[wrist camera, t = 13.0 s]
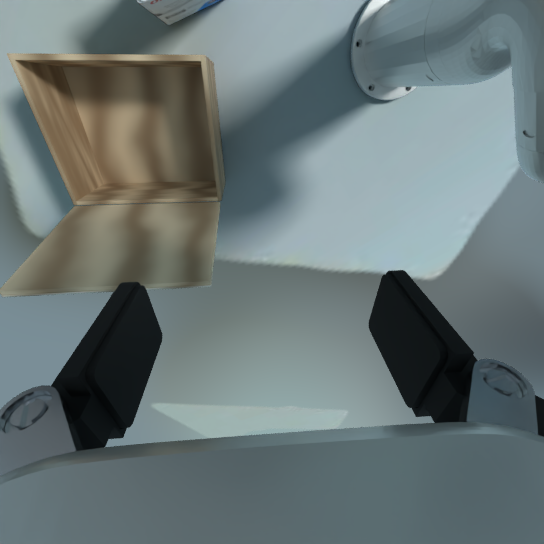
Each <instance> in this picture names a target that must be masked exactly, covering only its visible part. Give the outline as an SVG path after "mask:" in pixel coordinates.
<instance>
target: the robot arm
mask: <svg viewBox="0 0 544 544" xmlns="http://www.w3.org/2000/svg"><path fill="white" fill-rule="evenodd" d="M357 42H358V43H359V45H358V47H356V43H357ZM351 66H352V71H353V74H354V77H355V80H356V82H357V83H358V85H359V87H360V88H361V89H362V90H363V91H364V92H365V93H366V94H367V95H369V96H370V97H373V98H375V99H379V100H393V99H398V98H401V97H403V96H405V95H407V94H409V93H410V92H412V91H413V90H415V89H416V88H417V87H418V86H443V85H464V84H473V83H478V82H482V81H485V80H488V79H490V78H493V77H495V76H497V75H498V74H500V73H502V72H504V71H505V70H507V69H509V68H510V67H512V85H513V87H514V109H515V135H516V149H517V156H518V161H519V164H520V166H521V168H522V170H523V171H524V172H525V174H526V175H527V176H529V177H530V178H532V179H534V180H536V181H538V182H541V183H544V0H370V1H369V2H368V3H367V5H366V6H365V8H364V10H363V11H362V13H361V15H360V17H359V19H358V21H357V24H356V27H355V30H354V33H353V37H352V43H351ZM369 86H371V88H370V90H369ZM406 87H407V88H406ZM405 88H406V90H405ZM369 329H370V332H371V333H372V336H373V338H374V340H375V342H376V344H377V346H378V348H379V350H380V352H381V354H382V356H383V358H384V360H385V362H386V365H387V367H388V369H389V371H390V373H391V375H392V377H393V379H394V381H395V383H396V385H397V387H398V389H399V391H400V393H401V395H402V397H403V399H404V401H405V403H406V405H407V406H408V407H410V408H412V410H413V412H414V414H415V415H416V417H421V416H431V417H432V419H433V421H434V422H435V423H426V424H405V425H390V426H375V427H360V428H345V429H330V430H316V431H303V432H289V433H275V434H262V435H249V436H234V437H221V438H208V439H195V440H183V441H170V442H157V443H146V444H136V445H126V446H114V447H105V446H106V443H107V441H108V439H114V438H123V437H124V434H125V431H126V428H128V427H130V426H131V425H132V424H133V421H134V418H135V415H136V413H137V410H138V407H139V404H140V401H141V399H142V396H143V393H144V390H145V387H146V384H147V381H148V379H149V376H150V373H151V370H152V368H153V365H154V361H155V359H156V356H157V353H158V351H159V348H160V345H161V342H162V332H161V329H160V327H159V324H158V321H157V318H156V316H155V313H154V310H153V307H152V304H151V302H150V299H149V296H148V293H147V291H146V288H145V286H143V285H140V283H139V282H122V283H120V284H119V286H118V287H117V289H116V290H115V292H114V293H113V294H112V296H111V297H110V299H109V300H108V302H107V303H106V305H105V307H104V308H103V309H102V311H101V312H100V314H99V316H98V317H97V318H96V320H95V321H94V323H93V324H92V326H91V327H90V329H89V330H88V332H87V333H86V335H85V336H84V338H83V339H82V340H81V342H80V344H79V345H78V346H77V348H76V349H75V351H74V352H73V354H72V355H71V357H70V358H69V360H68V361H67V363H66V364H65V366H64V367H63V369H62V370H61V372H60V373H59V375H58V376H57V378H56V379H55V381H54V382H53V384H52V385H51V386H38V387H33V388H31V389H28V390H26V391H24V392H22V393H20V394H19V395H17V396H16V397H14V398H13V399H11V400H10V401H9V402H8V403H6V405H4V406H3V407H2V408H1V410H0V544H544V399H542V398H539V397H538V396H536V395H535V393H534V389H533V386H532V385H531V383H530V382H529V381H528V379H527V378H526V377H525V376H524V375H523V374H522V373H520V372H519V371H517V370H516V369H515V368H513V367H512V366H509V365H507V364H506V363H504V362H501V361H498V360H495V359H487V358H486V359H480V360H477V359H476V358H475V357H474V355H473V354H474V352H473V351H472V350H471V349H470V348H469V346H468V345H467V344H466V343H465V342H464V341H463V340H462V338H461V337H460V336H459V335H458V333H457V332H456V331H455V330H454V329H453V327H452V326H451V325H450V324H449V323H448V321H447V320H446V319H445V318H444V317H443V316H442V314H441V313H440V312H439V311H438V310H437V308H436V307H435V306H434V305H433V304H432V302H431V301H430V300H429V299H428V298H427V296H426V295H425V294H424V293H423V292H422V291H421V290H420V288H419V287H418V286H417V285H416V283H414V281H413V280H412V279H411V277H410V276H409V275H408V274H407V273H406V272H405V271H403V270H398V271H388V272H387V273H386V275H383V276H382V279H381V282H380V286H379V289H378V292H377V296H376V299H375V303H374V306H373V309H372V313H371V316H370V320H369Z"/></svg>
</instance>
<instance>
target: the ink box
mask: <svg viewBox="0 0 544 544" xmlns="http://www.w3.org/2000/svg"><path fill="white" fill-rule="evenodd" d="M218 1H220V0H137V2H138V3H139V4H140V5H142V6H143V7H144V8H146V9H147V10H148V11H150V12H151V13H152V14H154V15H155V16H157V17H158V18H159V19H160V20H162V21H163V22H164V23H166V24H167V25H171V24H173V23H175V22H177V21H179V20H181V19H183V18H185V17H187V16H189V15H191V14H193V13H196V12H198V11H200V10H202V9H204V8H206V7H208V6H210V5H212V4H214V3H216V2H218Z"/></svg>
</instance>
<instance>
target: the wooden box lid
mask: <svg viewBox="0 0 544 544" xmlns="http://www.w3.org/2000/svg"><path fill="white" fill-rule="evenodd" d="M219 213H220V202H191V203H157V204H124V205H90V206H74V207H73V208H72V209H71V210H70V211H69V213H68V214H67V215H66V216H65V217H64V218H63V219H62V220H61V221H60V223H59V224H58V225H57V226H56V227H55V228H54V229H53V230H52V232H51V233H50V234H49V235H48V236H47V237H46V238H45V239H44V240H43V242H42V243H41V244H40V245H39V246H38V247H37V248H36V249H35V251H34V252H33V253H32V254H31V255H30V256H29V257H28V259H27V260H25V262H24V263H23V264H22V265H21V266H20V267H19V268H18V269H17V270H16V272H15V273H14V274H13V275H12V276H11V277H10V278H9V279H8V281H7V282H6V283H5V284H4V285H3V286H2V287H1V288H0V294H1V295H2V297H17V296H37V295H56V294H76V293H95V292H113V293H114V292H115V290H116V289H117V287H118V286H119V284H120V283H122V282H139V283H140V285H143V286H145V288H146V290H154V289H174V288H193V287H211V283H212V273H213V264H214V256H215V247H216V239H217V230H218V222H219ZM111 296H112V295H111Z"/></svg>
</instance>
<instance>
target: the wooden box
mask: <svg viewBox="0 0 544 544" xmlns="http://www.w3.org/2000/svg"><path fill="white" fill-rule="evenodd" d="M7 55H8V58H9V60H10V62H11V64H12V67H13V69H14V71H15V73H16V76H17V78H18V80H19V82H20V85H21V87H22V89H23V91H24V94H25V96H26V98H27V100H28V103H29V105H30V107H31V109H32V112H33V114H34V116H35V118H36V121H37V123H38V125H39V127H40V130H41V132H42V134H43V136H44V139H45V141H46V143H47V145H48V148H49V150H50V152H51V154H52V157H53V159H54V161H55V163H56V166H57V168H58V170H59V172H60V175H61V177H62V179H63V181H64V184H65V186H66V188H67V190H68V193H69V195H70V197H71V199H72V202H73V204H74V205H95V204H129V203H163V202H197V201H221V200H222V196H223V192H224V187H225V173H224V163H223V153H222V143H221V133H220V123H219V113H218V104H217V94H216V84H215V74H214V64H213V62H212V61H211V60H210V59H209V58H208V57H206V56H205V55H137V54H7Z"/></svg>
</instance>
